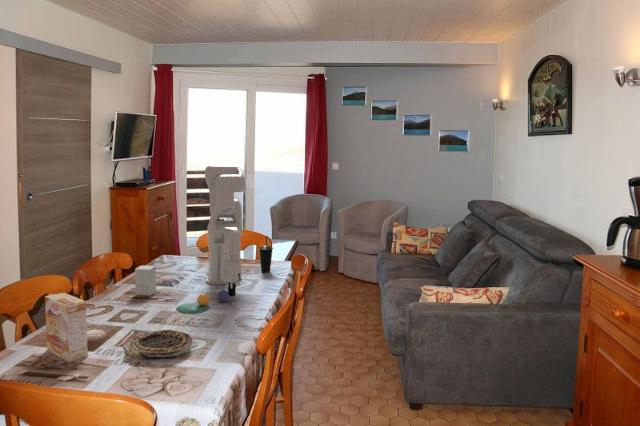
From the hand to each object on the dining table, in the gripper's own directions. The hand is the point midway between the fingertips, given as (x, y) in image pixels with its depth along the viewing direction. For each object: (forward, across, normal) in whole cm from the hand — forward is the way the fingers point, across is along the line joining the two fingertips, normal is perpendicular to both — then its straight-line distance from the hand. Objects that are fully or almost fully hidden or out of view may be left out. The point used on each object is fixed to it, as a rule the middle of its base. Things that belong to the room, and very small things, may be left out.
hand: (231, 295), depth 254 cm
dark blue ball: (-1, +1, -6) cm, 6 cm away
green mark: (+2, 0, -21) cm, 21 cm away
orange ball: (-1, 0, -16) cm, 16 cm away
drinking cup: (+2, -28, +45) cm, 53 cm away
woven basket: (+2, +32, -55) cm, 64 cm away
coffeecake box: (+2, +13, -80) cm, 81 cm away
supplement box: (+2, -33, -25) cm, 41 cm away
